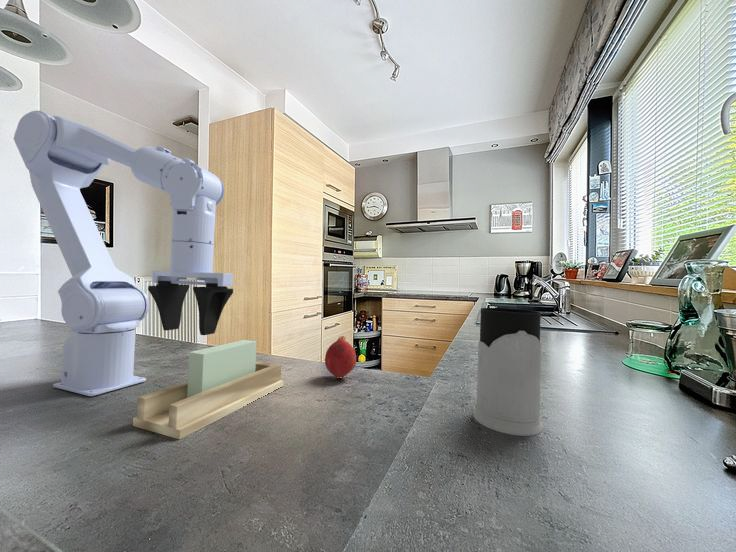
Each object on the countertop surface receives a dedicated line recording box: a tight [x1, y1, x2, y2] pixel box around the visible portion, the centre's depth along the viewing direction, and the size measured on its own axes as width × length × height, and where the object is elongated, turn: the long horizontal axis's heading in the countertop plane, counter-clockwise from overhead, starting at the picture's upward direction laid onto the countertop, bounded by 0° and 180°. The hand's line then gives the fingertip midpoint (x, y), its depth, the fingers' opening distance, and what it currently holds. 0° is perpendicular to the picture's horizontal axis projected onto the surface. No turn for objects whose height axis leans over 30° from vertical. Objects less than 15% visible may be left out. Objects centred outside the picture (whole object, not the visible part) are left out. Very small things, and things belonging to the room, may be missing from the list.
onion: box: [324, 334, 357, 378], centre depth 57 cm, size 6×6×8 cm
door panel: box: [187, 339, 258, 398], centre depth 45 cm, size 2×10×7 cm, turn 160°
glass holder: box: [472, 307, 544, 437], centre depth 45 cm, size 9×14×15 cm, turn 177°
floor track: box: [132, 360, 284, 440], centre depth 44 cm, size 8×19×4 cm, turn 160°
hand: (188, 331), depth 47 cm, fingers open, 7 cm apart
